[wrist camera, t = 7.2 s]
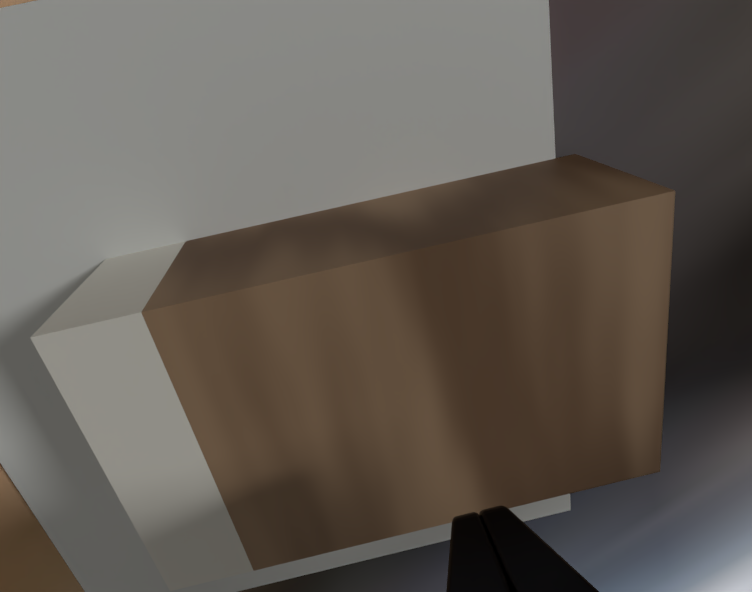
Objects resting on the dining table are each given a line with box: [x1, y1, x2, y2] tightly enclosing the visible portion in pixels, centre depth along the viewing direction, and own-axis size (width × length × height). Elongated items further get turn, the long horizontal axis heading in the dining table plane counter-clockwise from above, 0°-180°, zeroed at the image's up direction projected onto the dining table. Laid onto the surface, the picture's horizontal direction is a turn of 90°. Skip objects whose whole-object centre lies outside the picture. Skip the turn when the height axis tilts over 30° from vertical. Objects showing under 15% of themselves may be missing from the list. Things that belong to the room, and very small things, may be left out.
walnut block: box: [30, 154, 675, 591], centre depth 13 cm, size 4×7×12 cm
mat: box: [0, 0, 571, 592], centre depth 15 cm, size 17×18×1 cm
